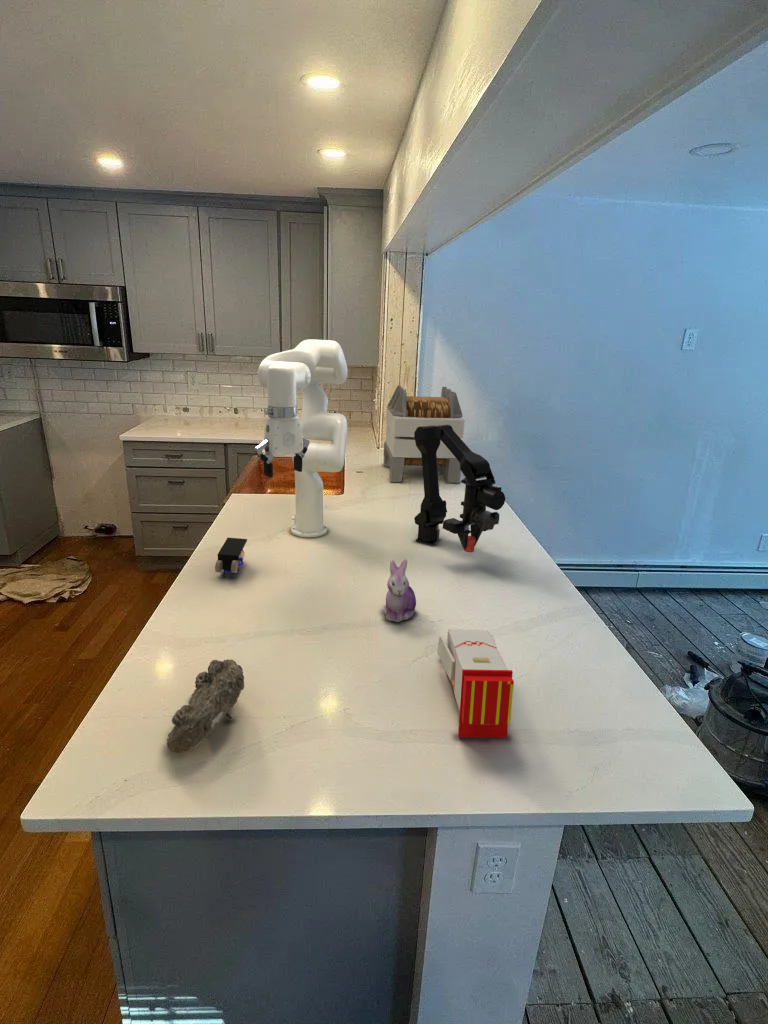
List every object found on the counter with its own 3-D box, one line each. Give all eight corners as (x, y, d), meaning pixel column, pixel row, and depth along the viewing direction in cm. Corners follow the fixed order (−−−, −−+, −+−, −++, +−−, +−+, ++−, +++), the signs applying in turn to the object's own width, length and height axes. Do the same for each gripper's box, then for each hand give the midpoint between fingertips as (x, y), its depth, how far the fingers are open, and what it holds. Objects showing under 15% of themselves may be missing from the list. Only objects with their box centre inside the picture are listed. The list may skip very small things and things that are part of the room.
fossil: (192, 660, 117) (244, 628, 112) (224, 691, 120) (276, 661, 115) (142, 746, 98) (202, 712, 93) (182, 779, 101) (242, 748, 96)
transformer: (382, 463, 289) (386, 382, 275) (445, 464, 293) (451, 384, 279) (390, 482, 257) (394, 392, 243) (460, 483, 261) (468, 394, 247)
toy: (488, 613, 130) (523, 677, 101) (484, 667, 133) (517, 744, 104) (435, 612, 130) (455, 676, 101) (432, 666, 133) (451, 743, 103)
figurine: (392, 627, 141) (395, 572, 136) (374, 608, 149) (376, 556, 144) (425, 619, 145) (429, 566, 140) (405, 601, 154) (408, 550, 149)
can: (473, 548, 180) (474, 535, 178) (475, 552, 176) (476, 539, 175) (462, 548, 179) (463, 535, 178) (464, 552, 176) (465, 539, 175)
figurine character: (238, 584, 162) (249, 557, 175) (236, 562, 158) (247, 536, 172) (215, 584, 161) (227, 556, 175) (212, 561, 158) (225, 535, 171)
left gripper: (262, 417, 144) (264, 482, 150) (316, 411, 155) (316, 471, 161) (246, 413, 149) (249, 475, 155) (300, 407, 161) (301, 466, 166)
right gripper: (468, 513, 161) (463, 563, 166) (514, 503, 171) (508, 550, 176) (443, 501, 170) (439, 549, 175) (488, 493, 180) (483, 538, 185)
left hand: (283, 473), depth 158 cm, fingers open, 9 cm apart
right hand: (468, 547), depth 178 cm, fingers closed on can, 3 cm apart
